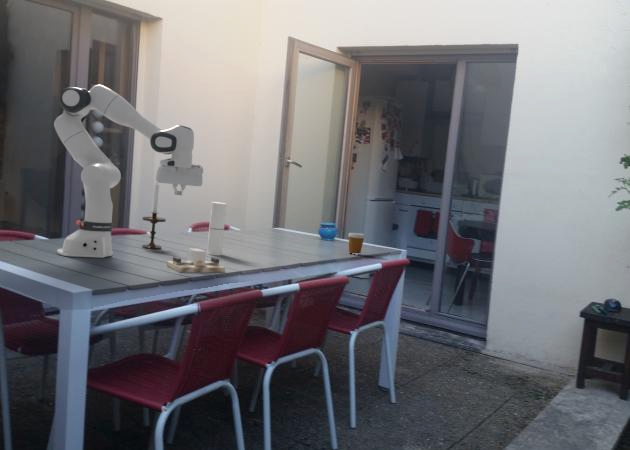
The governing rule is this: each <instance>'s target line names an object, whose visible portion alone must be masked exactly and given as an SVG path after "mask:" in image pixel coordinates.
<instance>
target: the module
mask: <svg viewBox="0 0 630 450" xmlns="http://www.w3.org/2000/svg"><path fill="white" fill-rule="evenodd" d="M187 251H188V252H187V261H190V262H192V263H193V265H194V266H205V261H206V254H207V250H202V249H200V248H188V250H187Z"/></svg>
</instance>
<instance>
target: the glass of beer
mask: <svg viewBox="0 0 630 450" xmlns="http://www.w3.org/2000/svg"><path fill="white" fill-rule="evenodd" d="M365 238H366V237H365V234H364V233H361V232H349V233H348V253H349V252H350V253H360V254H361V251H362V248H363V243H364V239H365Z"/></svg>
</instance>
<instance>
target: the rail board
mask: <svg viewBox="0 0 630 450" xmlns="http://www.w3.org/2000/svg"><path fill="white" fill-rule="evenodd" d="M166 267H168V268H170V269H172V270H174V271H176V272H178V273H225V272H226V267H225V266H223V265H220V258H218V257H216V256H213V257H210V260H205V266H194V265H193V263H192V262H190V261H188V260H182V258H180V257H178V256H172V260H166Z"/></svg>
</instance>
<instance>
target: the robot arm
mask: <svg viewBox="0 0 630 450" xmlns="http://www.w3.org/2000/svg"><path fill="white" fill-rule="evenodd" d="M58 101H59V104H60V106H61V108H62V109H63V111H62V113H61V115H59V116H57V117H56V118H55V120H54V122H53V127H54V129H55V132H56V134H57V136H58V138H59V140H60V141H61V143H62V144H63V146H64V147H65V149H66V150H67V151H68V153H69V154H70V156H71V158H73V160H74V161H75V162H76V163H77V164H78V165H80V167H82V168H83V169H82V170H81V173H80V180H81V182H82V185H83V191H84V198H85V209H84V220H82V221H81V220H77V221H76V222H75V223H76V225H77V226H78V229H77V230H75V231H74V232H73V233H71V234H69V235H67V236H66V237H65V238H64V240H63V243H62V244H63V245H62V248H58V249H57V251H56V253H57V254H58V255H61V256H63V257H64V256H65V257H75V258H76V257H78V258H81V257H82V258H83V257H84V258H105V257H111V256H113V255H114V254H113V253H114V252H113V248H112V234H113V222H112V220H113V219H112V218H113V207H114V204H113V201H112V197H111V189H113V188H115V187H116V186H117V185H118V184H119V183H120V181H121V179H122V175H121V171H120V169H119V168H118V167H117V166H116V165H114V163H113V162H112V160H110V159H109V158H108V157H107V155H106V154H105V153H104V152H103V151H102V150H101V149H100V147H99V146H98V145H97V144H96V142H95V141H94V140H93V138H92V137H91V135H90V134H89V132H88V131H87V129H86V128H85V126H84V124H83V122H84V121H85V119H86V118H87V117H88V116H90V114H91V112H92V110H93V111H97V112H98V113H100V114H101V115H102V116H103V117H105V118H106V119H108V120H110V121H111V122H114V123H116V124H118V125H120V126H123V127H127V128H131V129H133V130H135V131H137V132H139V133H140V134H142V135H143V136H144V137H146V138H147V139H148V140H150V141H149V143H150V147H151V148H152V150H153V151H155V152H156V153H159V154H163V155H171V157H170V158H167V159H166V158H165V159H161V160H159V166H158V168H157V171H156V176H155V181H156V183H157V182H158V184H169V185H170V184H171V185H172V189H173V190H174V196H183V191H184V190H185V189H186V186H191V187H201V186H202V185H203V173H204V168H203V167H202V166H201V165H199V164H193V149H194V145H195V132H194V130H193V129H192V128H191V127H189V126H186V125H181V124H176V125H175V126H173V127H171V128H168V129H164V130H163V129H160V128H159V127H158V126H156V125H155V124H153V123H152V122H151V121H149V120H147V119H146V118H145V117H143V115H142V114H141V113H139V112H138V110H136V108H135V107H134V106H133V105H132V104H131V103H130V102H129V101H127V99H125V98H124V97H123V96H122V95H120V94H119V93H117V92H115V90H113V89H111V88H109V87H107V86H105V85H103V84H95V85H94V86H92V87H91V88H90V89H89V90H88V89H86V88H83V87H81V88H80V87H74V86H70V87H69V86H68V87H66V88H64V89H63V90H61V92H60V94H59V97H58ZM179 185H180V190H178V189H177V187H178V186H179Z"/></svg>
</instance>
